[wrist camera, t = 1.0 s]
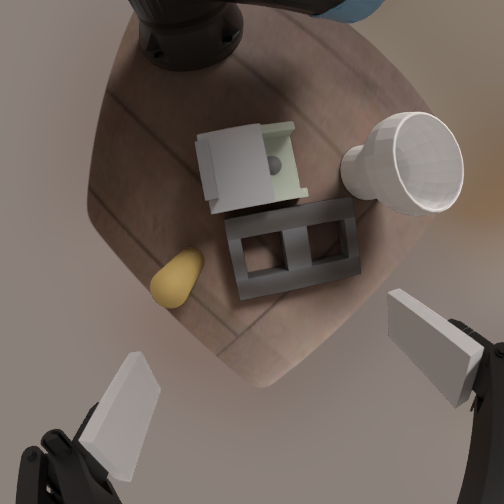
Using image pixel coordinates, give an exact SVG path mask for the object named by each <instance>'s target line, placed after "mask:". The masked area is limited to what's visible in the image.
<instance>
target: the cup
mask: <svg viewBox="0 0 504 504" xmlns="http://www.w3.org/2000/svg"><path fill="white" fill-rule="evenodd" d="M340 172H341V178H342V181H343V184H344V185H345V187H346V189H347V190H348V191H349V192H350V193H351V194H352V195H353V196H355V197H357V198H358V199H362V200H373V199H376V198H377V200H378V201H380V202H381V203H382V204H384V205H385V206H387V207H388V208H390V209H391V210H393V211H395V212H396V213H400V214H404V215H409V216H416V217H419V216H428V215H432V214H436V213H439V212H442V211H444V210H446V209H448V208H450V207H451V205H452V204H453V203H454V202H455V201H456V200H457V198H458V196H459V194H460V192H461V188H462V184H463V178H464V177H463V176H464V167H463V158H462V155H461V151H460V148H459V145H458V143H457V141H456V139H455V137H454V135H453V134H452V133H451V131H450V130H449V128H448V127H447V126H446V125H445V124H444V123H443V122H442V121H440V120H439V119H438V118H436V117H434V116H432V115H431V114H428V113H423V112H404V113H399V114H394V115H392V116H390V117H388V118H386V119H385V120H383V121H381V122H380V123H378V124H377V125H376V126H375V127H374V129H373V130H372V131H371V132H370V134H369V135H368V137H367V139H366V140H365V143H364V145H360V146H356V147H353V148H351V149H350V150H348V151H347V152H346V154H345V155H344V157H343V159H342V161H341V167H340Z"/></svg>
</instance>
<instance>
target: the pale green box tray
mask: <svg viewBox="0 0 504 504" xmlns="http://www.w3.org/2000/svg"><path fill="white" fill-rule="evenodd" d="M260 126H261V131H262V136H263V140H264V145H265V150H266V155H267V160H268V165H269V170H270V175H271V181H272V186H273V191H274V197H275V202H277V201H283V200H289V199H295V198H301V197H307V196H308V190H307V188H301V189H300V184H299V179H298V174H297V168H296V163H295V158H294V154H293V149H292V144H291V139H290V135H291V133H292V132H293V131H294V130H295V126H294V122H293V121H289V122H280V123H272V124H265V125H260Z"/></svg>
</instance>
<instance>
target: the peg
mask: <svg viewBox="0 0 504 504" xmlns="http://www.w3.org/2000/svg"><path fill="white" fill-rule="evenodd" d="M203 266H204V257H203V254H202V253H201V252H200V251H199V250H198V249H196V248H193V247H188V248H185V249H183V250H182V251H181V252H180V253H178V254H177V255H176V256H175V257H174V258H173V259H172V260H171V261H170V262H168V263H167V264H166V265H165V266H164V267H163V268H162V269H161V270H160V271H159V272H158V273H156V274H155V275H154V277H153V278H152V280H151V283H150V292H151V295H152V297H153V299H154V300H155V301H156V302H157V303H158V304H159V305H161V306H163V307H166V308H176V307H179V306H181V305H182V304H183V303H184V302H185V301H186V299H187V297H188V295H189V293H190V291H191V289H192V287H193V285H194V283H195V281H196V279H197V277H198V276H199V274H200V272H201V270H202V268H203Z"/></svg>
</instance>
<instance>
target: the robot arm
mask: <svg viewBox="0 0 504 504" xmlns="http://www.w3.org/2000/svg"><path fill="white" fill-rule="evenodd" d="M128 1H129V2H130V4H131V6H132V7H133V9H134V11H135V13H136V14H137V16H138V18H139V43H140V46H141V49H142V51H143V52H144V54H145V55H146V57H147V58H148V59H149V60H150V61H151V62H152V63H153V64H155V65H156V66H158V67H160V68H163V69H167V70H172V71H190V70H196V69H201V68H204V67H207V66H210V65H212V64H215V63H217V62H218V61H220V60H222V59H224V58H225V57H226V56H228V55H229V54H230V53H231V52H232V51H233V50H234V49H235V48H236V47H237V45H238V44H239V42H240V40H241V38H242V35H243V16H242V13H241V11H240V9H239V8H238V6H237V4H236V3H241V4H251V5H259V6H266V7H272V8H278V9H283V10H288V11H293V12H298V13H302V14H307V15H309V16H310V17H314V18H325V19H329V20H333V21H337V22H341V23H354V22H358V21H361V20H363V19H365V18H367V17H368V16H370V15H371V14H372V13H374V12H375V10H377V9H378V8H379V7H380V6H381V4H382V3H383V2H384V1H385V0H128ZM387 299H388V336H389V337H390V338H391V340H392V341H393V342H395V344H396V345H397V346H398V347H399V348H400V349H401V350H402V351H403V352H404V353H405V354H406V355H407V356H408V357H409V358H410V359H411V360H412V362H413V363H414V364H415V365H416V366H417V367H418V368H419V369H420V370H421V371H422V372H423V373H424V374H425V375H426V376H427V378H429V380H430V381H431V382H432V383H433V384H434V385H435V386H436V387H437V389H438V390H439V391H440V392H441V393H442V394H443V395H444V396H445V397H446V399H447V400H448V401H449V402H450V403H451V404H452V405H453V407H454V408H457V407H458V406H460V405H461V404H463V403H464V402H466V401H467V400H468V399H469V396H470V394H471V391H472V390H473V391H474V392H475V393H476V396H475V399H474V401H473V404H472V406H471V409H470V411H472V410H473V408H474V418H473V427H472V436H471V443H470V449H469V455H468V461H467V466H466V471H465V475H464V479H463V483H462V487H461V491H460V494H459V498H458V501H457V504H504V342H501V343H496V344H495V345H494V344H492V343H491V342H490V341H488V340H487V339H485V338H484V337H482V336H481V335H480V334H478V333H477V332H474V331H473V330H472V329H471V328H468V326H467V325H465V324H464V323H462V322H461V321H457V320H454V319H450V320H448V321H447V320H445V319H444V318H443V317H441V316H440V315H438V314H437V313H435V312H434V311H432V310H431V309H429V308H428V307H426V306H425V305H424V304H422V303H421V302H419V301H417V300H416V299H415V298H413V297H412V296H410V295H408V294H407V293H406V292H404V291H402V290H401V289H399V288H398V289H395V290H393V291H390V292H387ZM160 392H161V388H160V387H159V385H158V383H157V381H156V379H155V377H154V375H153V373H152V371H151V369H150V367H149V365H148V363H147V361H146V359H145V357H144V355H143V353H142V351H137V352H130V353H129V354H128V356H127V358H126V359H125V361H124V363H123V364H122V366H121V367H120V369H119V371H118V372H117V374H116V376H115V378H114V379H113V381H112V382H111V384H110V386H109V387H108V389H107V391H106V392H105V394H104V396H103V397H102V400H101V401H100V402H97V403H96V404H95V405H94V406H93V407H92V408H91V409H90V410H89V412H88V414H87V416H86V418H85V419H84V421H83V424H81V426H80V428H79V429H78V431H77V433H76V435H75V436H74V438H73V440H72V442H71V440H70V439H69V438H68V437H67V436H66V435H65V434H64V432H63V431H62V430H60V429H53V430H50V431H48V432H47V433H46V434H45V435H44V436H43V437H42V439H41V445H42V446H43V447H44V448H45V450H46V451H47V452H48V454H44V453H43V451H42V450H41V449H40V448H39V447H37V446H31V447H28V448H27V449H25V451H24V452H23V454H22V456H21V462H20V468H19V475H18V483H17V493H16V504H122V503H121V501H120V499H119V497H118V496H117V493H116V492H115V490H114V488H113V486H112V484H111V482H110V481H109V480H108V479H107V475H108V473H110V474H111V475H112V476H113V477H114V478H115V479H116V480H121V481H128V482H131V479H132V476H133V473H134V470H135V466H136V464H137V460H138V457H139V454H140V451H141V447H142V445H143V441H144V438H145V435H146V432H147V429H148V426H149V423H150V420H151V417H152V415H153V412H154V409H155V406H156V403H157V400H158V397H159V394H160ZM46 486H48V487H49V488H50V489H51V492H50V493H49V492H48V491H47V490H46V488H47V487H46Z"/></svg>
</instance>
